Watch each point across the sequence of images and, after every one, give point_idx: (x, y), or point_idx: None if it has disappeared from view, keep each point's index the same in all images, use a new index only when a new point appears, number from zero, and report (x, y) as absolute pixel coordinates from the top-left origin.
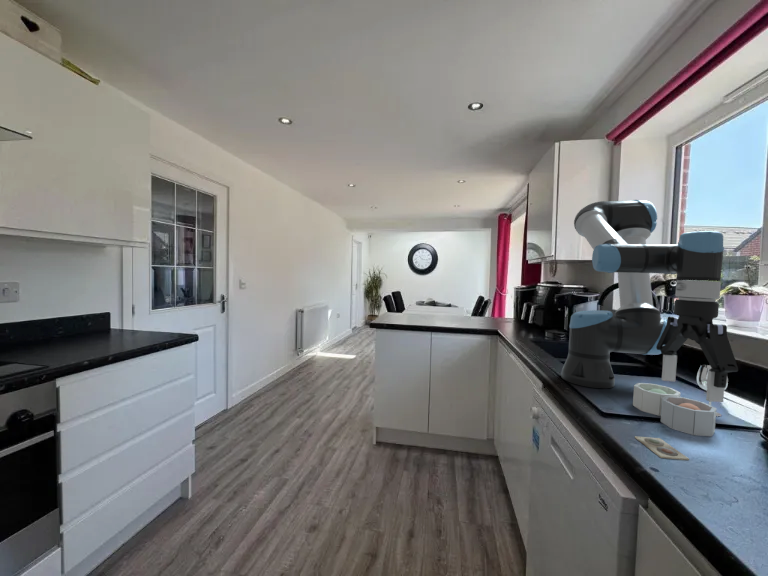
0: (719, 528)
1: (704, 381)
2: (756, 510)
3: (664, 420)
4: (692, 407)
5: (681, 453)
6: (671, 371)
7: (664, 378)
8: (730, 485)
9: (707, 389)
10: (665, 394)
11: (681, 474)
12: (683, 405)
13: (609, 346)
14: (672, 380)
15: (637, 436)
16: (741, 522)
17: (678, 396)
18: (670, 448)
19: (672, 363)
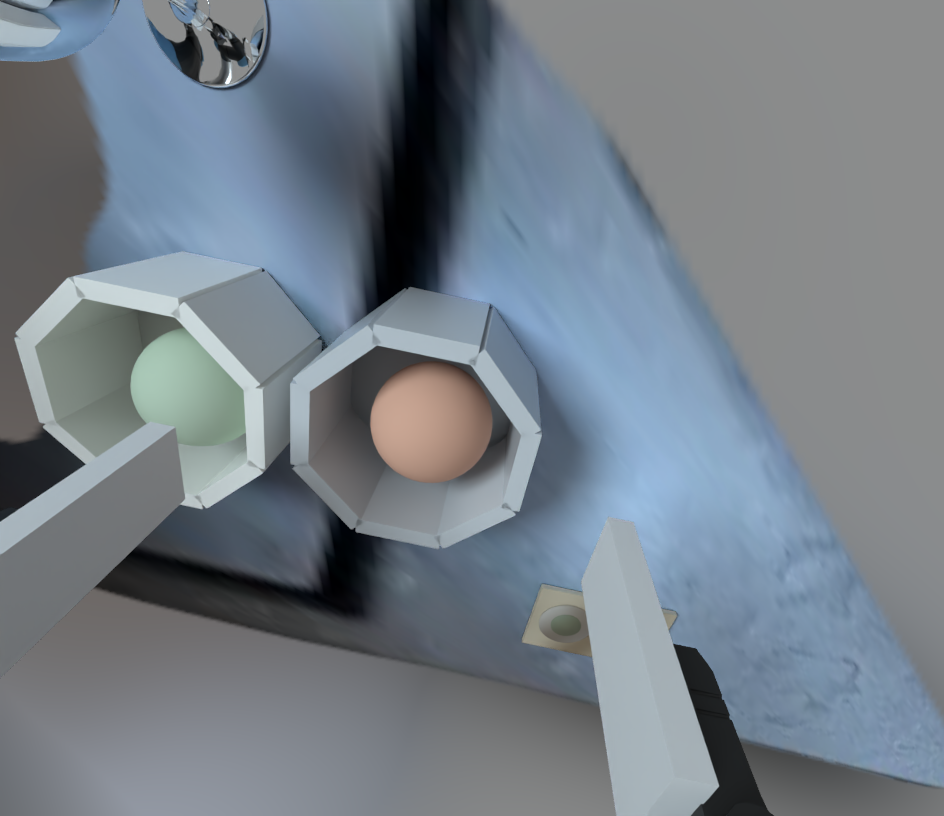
0: (889, 759)
1: (23, 52)
2: (899, 663)
3: None
4: (453, 463)
5: None
6: (116, 511)
7: (172, 508)
8: (809, 624)
9: (594, 647)
10: (258, 445)
11: (726, 680)
12: (419, 477)
13: None
14: (173, 450)
15: (524, 637)
16: (902, 719)
17: (239, 346)
18: None
19: (39, 570)
